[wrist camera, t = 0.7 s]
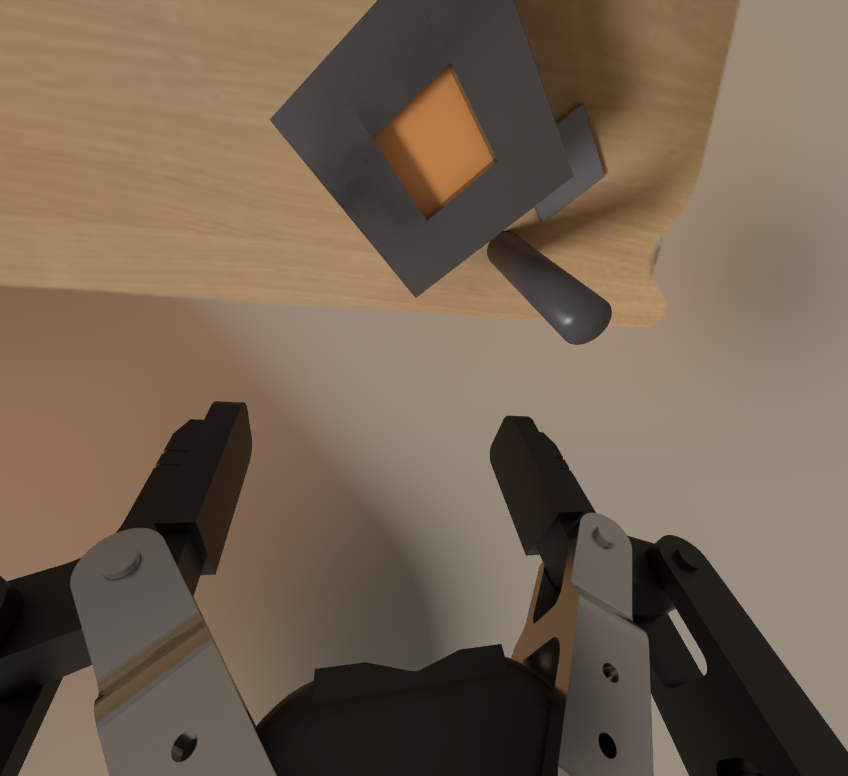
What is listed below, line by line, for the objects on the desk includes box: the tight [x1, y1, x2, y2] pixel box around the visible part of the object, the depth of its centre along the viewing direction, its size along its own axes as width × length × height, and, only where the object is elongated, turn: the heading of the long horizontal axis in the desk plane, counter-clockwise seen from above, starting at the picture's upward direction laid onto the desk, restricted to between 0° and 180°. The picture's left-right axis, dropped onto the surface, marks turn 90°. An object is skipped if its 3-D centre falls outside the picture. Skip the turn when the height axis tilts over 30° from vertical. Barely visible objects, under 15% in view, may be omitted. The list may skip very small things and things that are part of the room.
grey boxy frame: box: [270, 0, 574, 298], centre depth 22 cm, size 12×12×10 cm
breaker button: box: [372, 65, 493, 217], centre depth 21 cm, size 6×6×5 cm
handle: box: [487, 231, 612, 345], centre depth 27 cm, size 3×3×15 cm
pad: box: [534, 104, 605, 222], centre depth 29 cm, size 6×6×1 cm
